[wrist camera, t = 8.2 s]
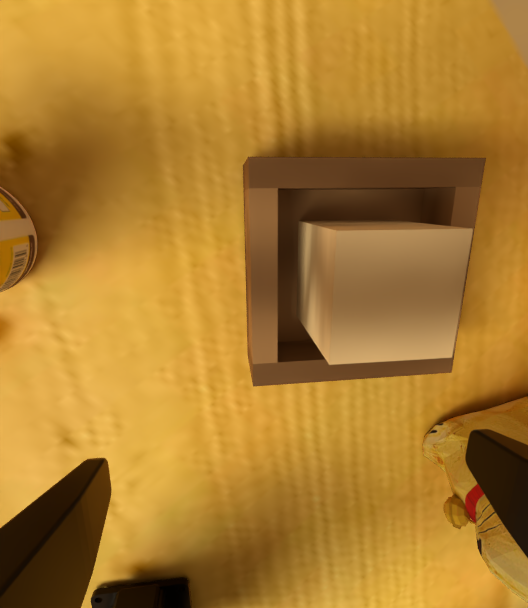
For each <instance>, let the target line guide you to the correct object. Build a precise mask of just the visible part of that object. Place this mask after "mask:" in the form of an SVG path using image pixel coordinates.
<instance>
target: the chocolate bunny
mask: <svg viewBox="0 0 528 608" xmlns="http://www.w3.org/2000/svg"><path fill="white" fill-rule="evenodd" d="M475 429H490V430H493V431H495V432H497V433H500V434H502V435H505V436H507V437H510V438H512V439H515V440H517V441H520V442H522V443H524V444H527V445H528V396H527V397H524V398H520V399H517V400H514V401H511V402H508V403H505V404H502V405H499V406H496V407H493V408H490V409H486V410H483V411H478V412H474V413H469V414H465V415H461V416H458V417H454V418H451V419H449V420H446V421H444V422H441V423H439V424H436V425H435V426H434V427H433V428H432V429H431V430H430V431H429V432H428V433H427V434H426V435H425V436H424V441H423V455H424V456H425V457H427V458H428V459H430V460H431V461H432V462H434V463H435V464H436V465H438V466H439V467H440V468H441V469H442V470H443V471H444V472H445V473H446V474H447V477H448V480H449V483H450V486H451V489H452V491H453V494H454V495H453V496H452V497H449V498H448V499H447V501H446V502H445V504H444V513H445V515H446V517H447V519H448V521H449V522H450V523H452V524H453V527H455V528H459V529H460V528H461V526H466V524H467V523H468V522H470V523H474V524H475V525H476V526H475V528H476V536H477V544H478V549H479V552H480V554H481V556H482V558H483V559H484V561H485V563H486V565H487V566H488V568H489V570H490V572H491V573H492V574H493V575H494V576H496V577H497V578H498V579H499V580H500V581H501V582H502V583H503V584H504V585H506V586H507V587H508V588H509V589H510V590H511V591H512V592H513V593H515V594H516V595H518V596H519V597H521V598H522V599H523V600H525V601H526V602H528V558H527V557H526V555H525V554H524V553H523V551H522V550H521V549H520V547H519V546H518V545H517V543H516V542H515V540H514V539H513V538H512V536H511V535H510V533H509V532H508V531H507V529H506V528H505V526H504V525H503V523H502V522H501V520H500V519H499V517H498V516H497V514H496V512H495V511H494V509H493V507H492V506H491V504H490V503H489V501H488V499H487V498H486V496H485V494H484V493H483V491H482V490H481V488H480V486H479V485H478V483H477V481H476V480H475V478H474V477H473V475H472V473H471V472H470V470H469V468H468V467H467V464H466V461H465V454H466V448H467V443H468V438H469V434H470V432H471V431H472V430H475ZM470 518H471V519H472V521H471V520H470Z"/></svg>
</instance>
